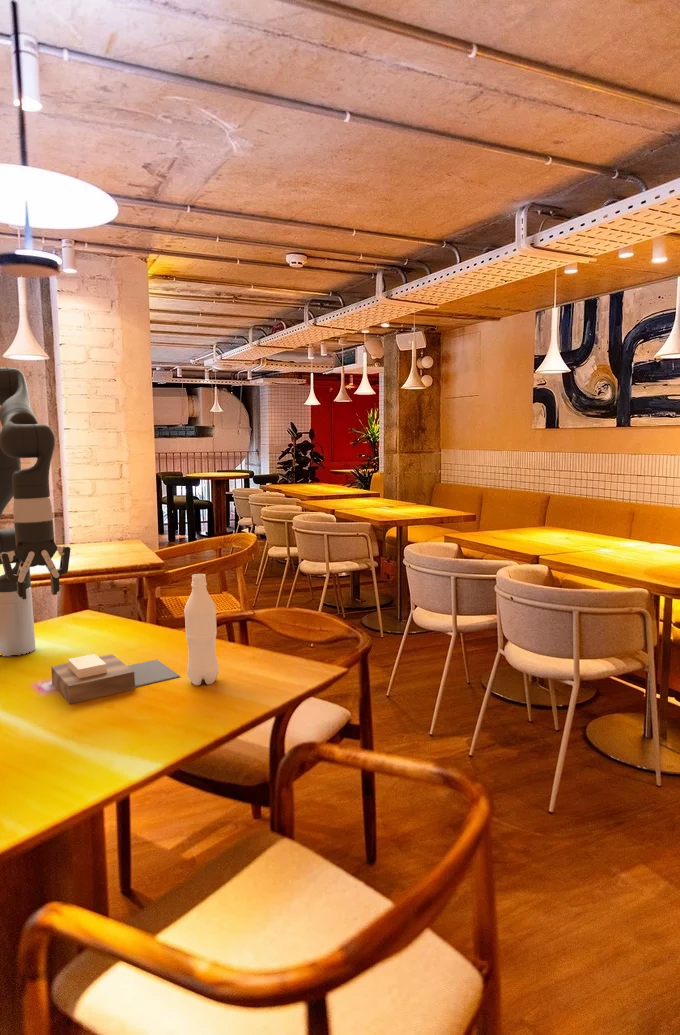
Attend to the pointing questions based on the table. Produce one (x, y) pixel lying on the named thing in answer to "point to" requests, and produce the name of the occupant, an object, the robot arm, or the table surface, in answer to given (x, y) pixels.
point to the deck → (93, 681)
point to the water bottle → (201, 633)
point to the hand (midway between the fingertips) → (39, 596)
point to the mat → (151, 672)
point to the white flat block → (87, 665)
